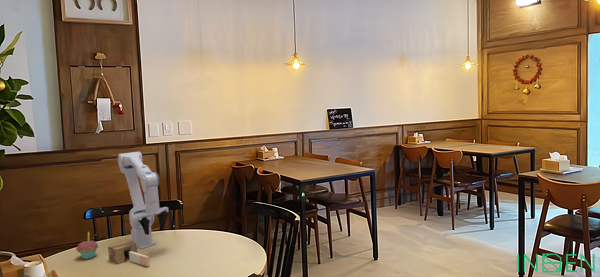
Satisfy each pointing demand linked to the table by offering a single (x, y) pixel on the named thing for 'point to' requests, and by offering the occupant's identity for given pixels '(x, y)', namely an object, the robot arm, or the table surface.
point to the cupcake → (87, 248)
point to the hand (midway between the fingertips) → (154, 231)
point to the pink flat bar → (139, 258)
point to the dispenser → (121, 251)
